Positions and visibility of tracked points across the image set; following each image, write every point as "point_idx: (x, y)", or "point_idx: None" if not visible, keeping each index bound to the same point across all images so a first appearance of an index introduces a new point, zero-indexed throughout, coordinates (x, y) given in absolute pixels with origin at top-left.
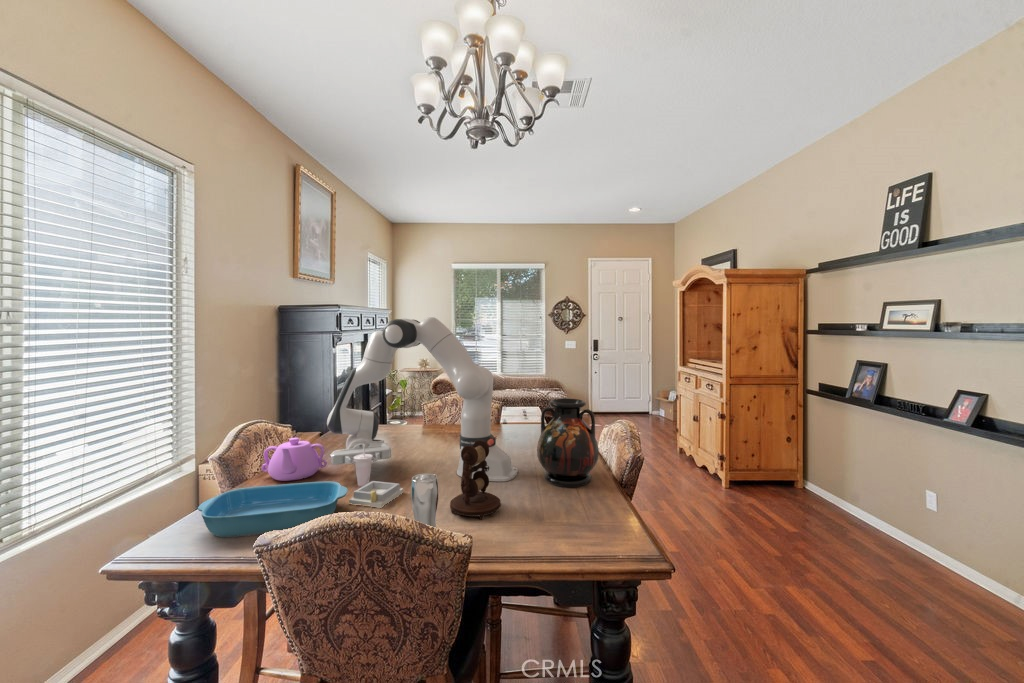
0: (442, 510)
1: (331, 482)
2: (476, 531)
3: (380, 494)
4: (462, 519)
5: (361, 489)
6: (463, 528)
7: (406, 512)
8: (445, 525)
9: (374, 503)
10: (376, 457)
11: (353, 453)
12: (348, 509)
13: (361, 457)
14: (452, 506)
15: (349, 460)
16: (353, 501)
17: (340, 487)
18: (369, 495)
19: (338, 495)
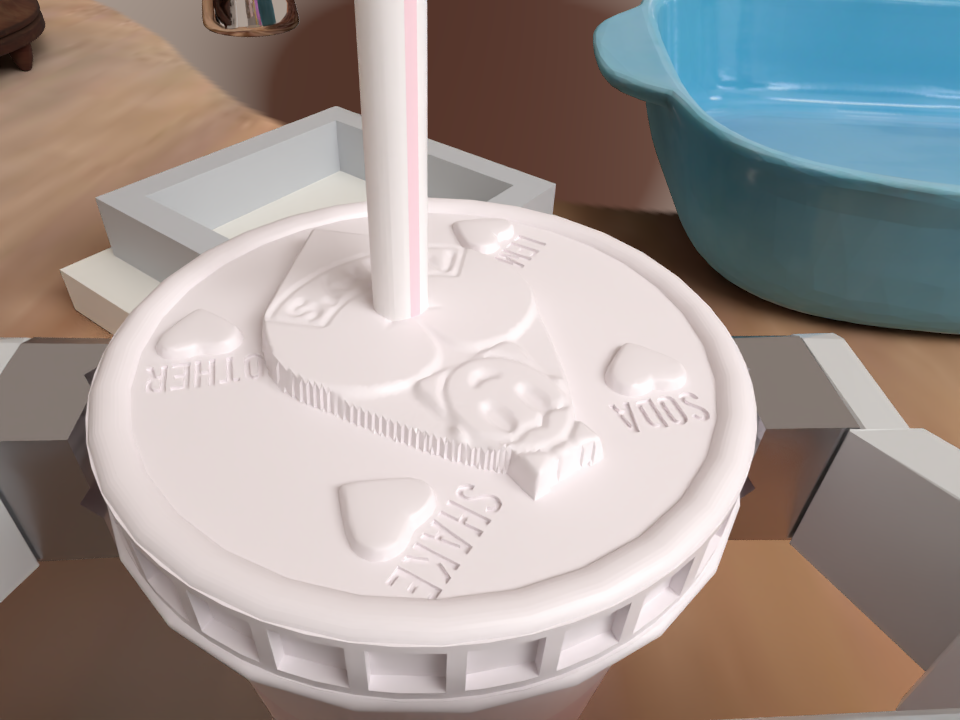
0: (44, 94)
1: (809, 162)
2: (70, 4)
3: (344, 113)
4: (37, 42)
5: None
6: (94, 17)
7: (232, 120)
8: (139, 36)
9: None
10: (34, 343)
11: (941, 711)
12: (573, 215)
13: (488, 261)
14: (28, 13)
15: (812, 339)
16: None
17: (665, 71)
18: None
19: (642, 13)
